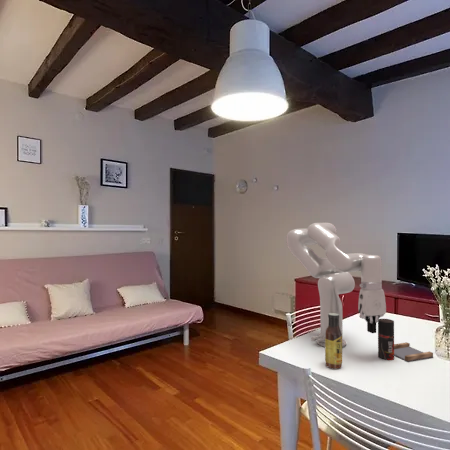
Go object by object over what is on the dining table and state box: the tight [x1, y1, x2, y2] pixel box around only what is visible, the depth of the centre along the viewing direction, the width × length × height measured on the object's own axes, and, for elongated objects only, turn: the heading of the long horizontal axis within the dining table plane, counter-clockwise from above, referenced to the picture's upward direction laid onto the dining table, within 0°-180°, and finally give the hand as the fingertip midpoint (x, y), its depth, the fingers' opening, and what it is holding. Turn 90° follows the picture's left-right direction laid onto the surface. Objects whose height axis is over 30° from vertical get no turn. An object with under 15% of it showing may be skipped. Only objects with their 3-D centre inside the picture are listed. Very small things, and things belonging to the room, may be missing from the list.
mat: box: [394, 346, 434, 363], centre depth 144 cm, size 13×13×1 cm
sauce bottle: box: [324, 313, 343, 370], centre depth 132 cm, size 6×6×20 cm
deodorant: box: [377, 318, 395, 361], centre depth 140 cm, size 6×6×15 cm
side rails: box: [394, 342, 434, 363], centre depth 144 cm, size 13×13×2 cm
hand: (371, 332), depth 138 cm, fingers closed
